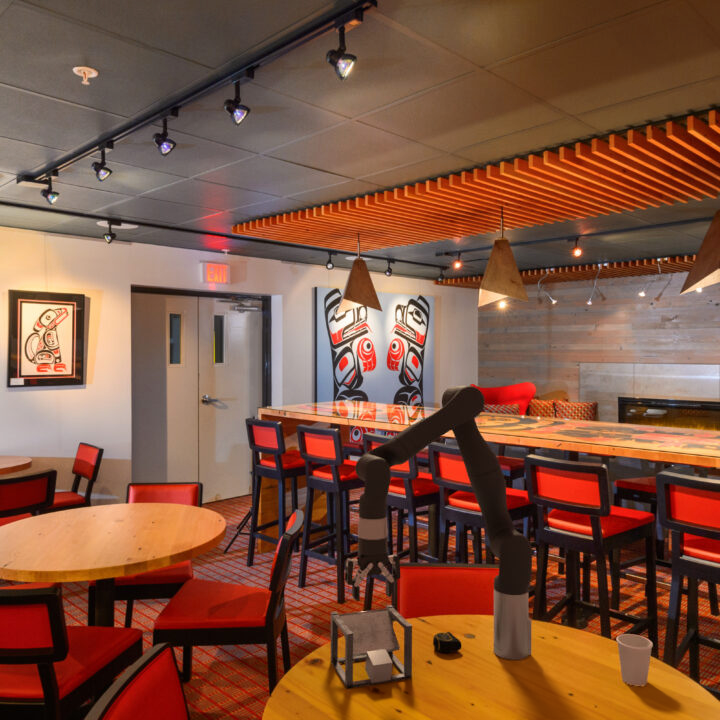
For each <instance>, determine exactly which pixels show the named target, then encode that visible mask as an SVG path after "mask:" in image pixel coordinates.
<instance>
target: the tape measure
mask: <svg viewBox="0 0 720 720" xmlns="http://www.w3.org/2000/svg"><path fill="white" fill-rule="evenodd" d="M432 640H433V641H432V645H433V647H434V649H435V650H437V651H438V652H440V653H444V654H446V653H449V654H450V653H454V652H457V651H460V650H461V649H462V642H461V641H460V639H458V638H457V637H456V636H454V635H453V634H452V633H451V632H450V631H447V632H437V633H436V634H435V635H434V636H433V638H432Z"/></svg>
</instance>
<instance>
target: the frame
mask: <svg viewBox="0 0 720 720" xmlns="http://www.w3.org/2000/svg"><path fill="white" fill-rule="evenodd" d="M385 609H387V611H388V614H389V617H390V620H391V623H392V626H393V627H394V620H395V621H396V622H397V623H398V625H400V626H401V627H402V628H403V663H402V662H401V661H400V659H399V658H398V657H397V656H396V655H395V653H394V651H390V652H387V653H388V655H389V657H390V659H391V660H392V662H393V663H392V665H394V667H396V669H397V670H398V671H399V674H398V673H397V674H391V680H388V681H382V682H375V683H371V681H370V679H369V678H367V679H361V680H355V681H354V662H353V661H355V662H360V661H359V660H362V661H366V655H362V656H356V657H353V633H352V631H350V629H349V628H348V627H347V625H346V624H345V623H344V622H343V620H342V619H341V618H340V616H339V613H338V612H337V611H335V610H334V611H330V664H331V663H332V664H331V666H332V665H333V666H332V667H333V669H334V668H335V669H334V671H335V672H336V673H338V674H337V675H338V677H339V678H341V679H340V680H341V682H342V683H343V685H344V686H345V688H346V689H347V690H349V689H355V688H361V687H362V688H363V687H368V686H373V685H374V686H375V685H381V684H387V683H393V682H398V681H404V680H405V681H406V680H412V678H413V677H412V676H413V625H412V624H411V623H409V621H408V620H406V619H405V617H404V616H402V615H401V614H400V613H399V611H397V610H396V609H395V608H394V606H393V605H392V604H387V605H385ZM339 630H340V631H341V633H342V634H343V636H344V635H345V637H344V642H345V645H344V646H345V649H344V650H345V652H344V657H339V656H338V655H339V654H338V652H339V649H338V648H339V643H338V642H339ZM344 662H345V663H344ZM339 663H342V664H344V668H343V667H342V666H341V664H339Z"/></svg>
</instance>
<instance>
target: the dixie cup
mask: <svg viewBox="0 0 720 720" xmlns="http://www.w3.org/2000/svg"><path fill="white" fill-rule="evenodd" d="M616 642H617V648H618V656H619V665H620V674H621V680H622V679H623V680H622V682H623V683H625V682H626V683H628V684H627V685H629V684H631V685H636V686H637V685H638V686H642V685H645V684H646V683H647V684H648V676H649V671H650V670H649V669H650V663H651V655H652V648H653V647H654V644H653V642H652V641H651V640H650V639H648V638H646V637H645V636H642V635H638V634H631V633H621V634H619V635H617V637H616ZM626 683H625V684H626ZM647 684H646V685H647ZM631 685H630V686H631ZM646 685H645V686H646ZM636 686H635V687H636ZM642 687H643V686H642Z"/></svg>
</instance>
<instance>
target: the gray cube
mask: <svg viewBox="0 0 720 720" xmlns="http://www.w3.org/2000/svg"><path fill="white" fill-rule="evenodd" d="M364 667H365V668H364V670H365V673H366V674H367V676H368V679H370V681H371V683H375V682H382V681H388V680H391V675H392V673H393V672H392V671H393V662H392V660H391V659H390V657H389V655H388V653H387V651H386V649H382V650H375V651H368V652H367V655H366V660H365V666H364Z"/></svg>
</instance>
